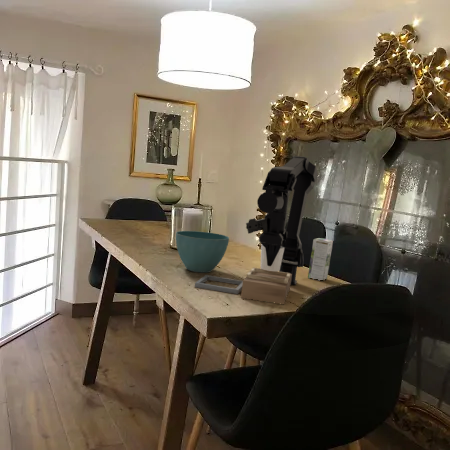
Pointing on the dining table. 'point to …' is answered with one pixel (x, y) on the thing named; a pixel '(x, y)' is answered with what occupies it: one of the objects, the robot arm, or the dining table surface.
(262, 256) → the shot glass
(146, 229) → the dining table surface
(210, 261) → the teal round bowl
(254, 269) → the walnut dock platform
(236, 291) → the grey square frame
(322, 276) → the syrup box
